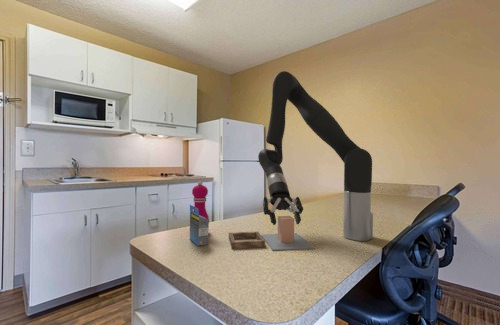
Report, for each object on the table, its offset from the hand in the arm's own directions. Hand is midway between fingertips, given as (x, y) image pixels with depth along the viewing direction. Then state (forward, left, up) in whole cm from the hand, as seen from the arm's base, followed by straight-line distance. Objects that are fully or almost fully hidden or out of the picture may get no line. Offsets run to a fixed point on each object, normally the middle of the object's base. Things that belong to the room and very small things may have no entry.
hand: (286, 223), depth 85 cm
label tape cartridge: (+30, -5, -7) cm, 31 cm away
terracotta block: (0, -1, -6) cm, 6 cm away
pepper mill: (+30, -16, -7) cm, 35 cm away
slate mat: (0, -1, -7) cm, 7 cm away
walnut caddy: (+14, -2, -7) cm, 16 cm away
